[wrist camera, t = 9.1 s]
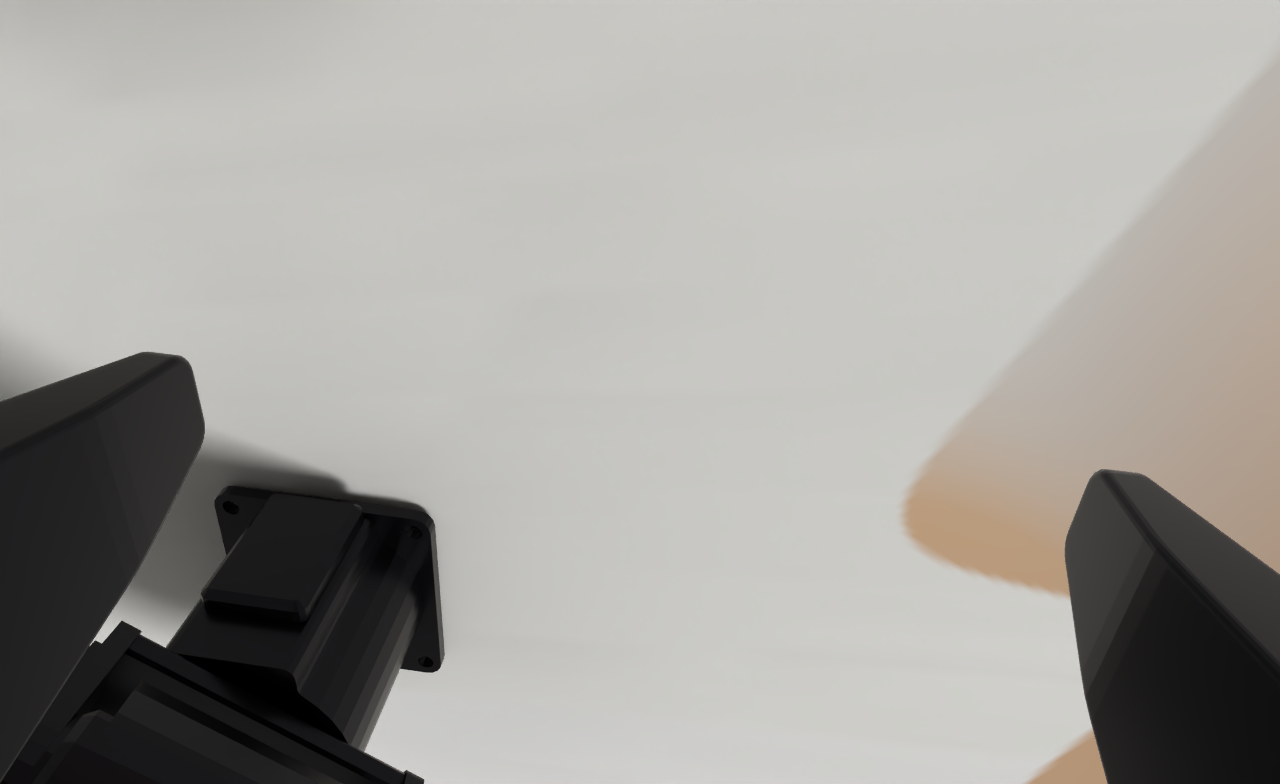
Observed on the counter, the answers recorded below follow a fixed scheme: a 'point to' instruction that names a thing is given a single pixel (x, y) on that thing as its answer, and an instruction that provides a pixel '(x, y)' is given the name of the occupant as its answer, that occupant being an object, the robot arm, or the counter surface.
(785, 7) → the counter surface
